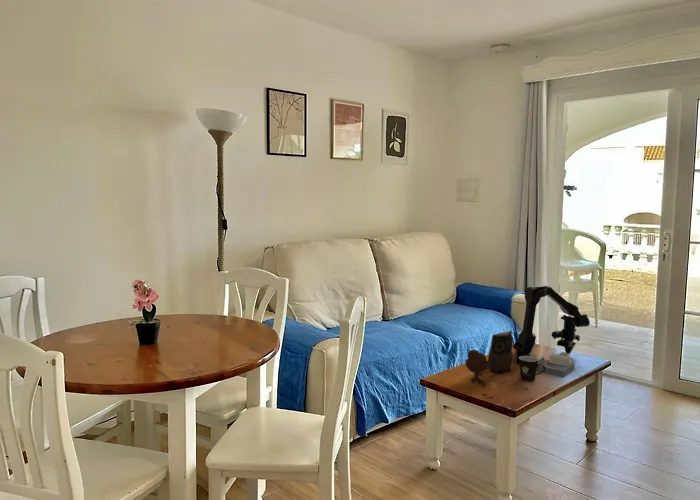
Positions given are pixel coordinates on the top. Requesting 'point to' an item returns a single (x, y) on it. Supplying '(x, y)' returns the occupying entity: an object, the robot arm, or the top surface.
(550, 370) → the bay
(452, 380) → the top surface
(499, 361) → the owl
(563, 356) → the t block
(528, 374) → the coffee mug
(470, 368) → the ice cream bowl
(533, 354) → the can
